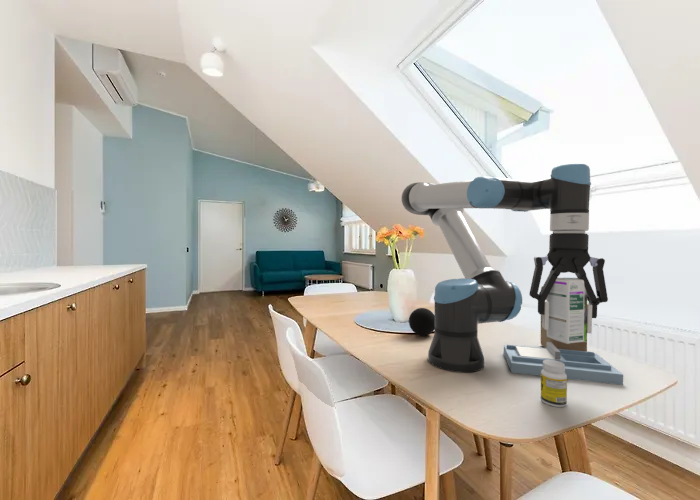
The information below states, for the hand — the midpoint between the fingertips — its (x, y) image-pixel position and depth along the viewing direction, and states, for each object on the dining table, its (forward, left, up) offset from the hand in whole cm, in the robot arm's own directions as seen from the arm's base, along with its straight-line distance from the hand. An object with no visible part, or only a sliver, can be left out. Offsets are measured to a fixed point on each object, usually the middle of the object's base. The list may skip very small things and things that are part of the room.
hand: (565, 329), depth 76 cm
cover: (-3, +14, -11) cm, 18 cm away
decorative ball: (-37, +35, -14) cm, 52 cm away
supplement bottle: (-5, -9, -14) cm, 17 cm away
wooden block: (+7, +31, -14) cm, 34 cm away
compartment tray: (+1, +14, -13) cm, 19 cm away
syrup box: (0, 0, -3) cm, 3 cm away
